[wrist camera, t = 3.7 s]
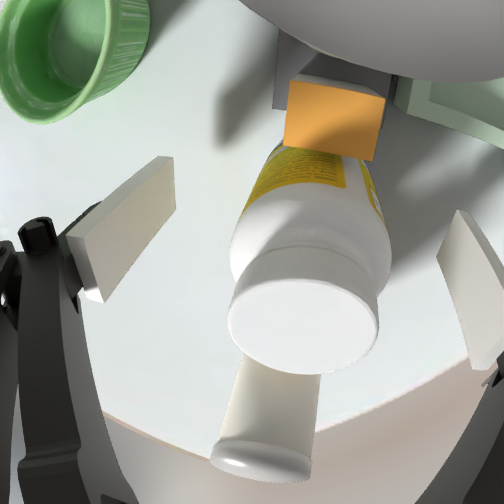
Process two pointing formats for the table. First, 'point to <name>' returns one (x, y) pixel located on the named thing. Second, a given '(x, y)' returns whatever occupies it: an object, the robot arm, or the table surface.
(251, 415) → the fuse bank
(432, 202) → the table surface
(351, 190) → the supplement bottle
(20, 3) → the ramekin
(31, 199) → the table surface
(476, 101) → the tray
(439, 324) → the table surface
